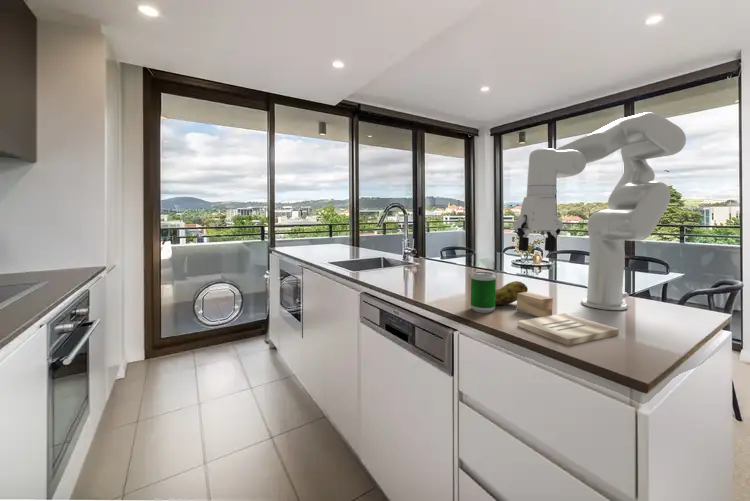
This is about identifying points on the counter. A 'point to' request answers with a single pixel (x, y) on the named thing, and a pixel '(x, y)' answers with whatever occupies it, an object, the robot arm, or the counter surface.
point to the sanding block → (534, 304)
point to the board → (568, 328)
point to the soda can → (483, 291)
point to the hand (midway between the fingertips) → (536, 250)
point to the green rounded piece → (509, 293)
